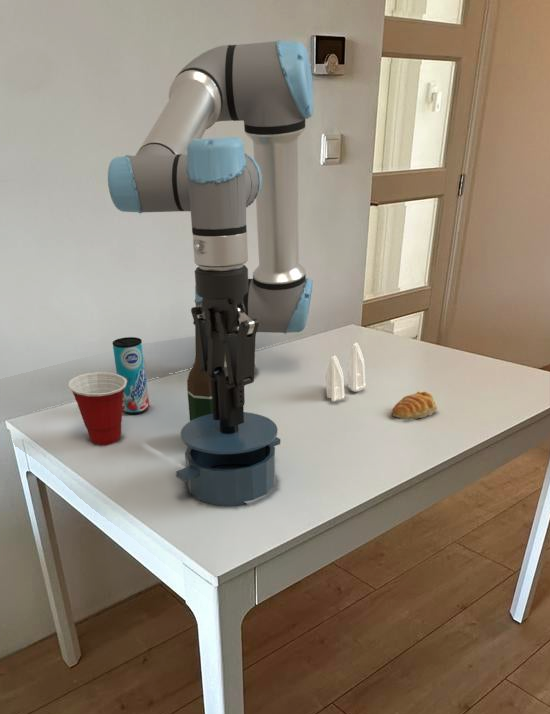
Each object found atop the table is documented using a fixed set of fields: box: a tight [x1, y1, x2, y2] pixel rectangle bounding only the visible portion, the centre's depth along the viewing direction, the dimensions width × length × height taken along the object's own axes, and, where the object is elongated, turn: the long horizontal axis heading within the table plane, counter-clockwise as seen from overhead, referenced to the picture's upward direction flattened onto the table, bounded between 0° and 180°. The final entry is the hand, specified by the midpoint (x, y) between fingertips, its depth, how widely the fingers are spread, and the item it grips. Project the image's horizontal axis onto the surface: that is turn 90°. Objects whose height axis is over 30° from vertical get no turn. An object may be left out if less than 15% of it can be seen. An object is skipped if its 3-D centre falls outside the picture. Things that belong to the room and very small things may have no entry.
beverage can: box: [112, 336, 150, 415], centre depth 132 cm, size 6×6×15 cm
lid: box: [180, 370, 278, 454], centre depth 99 cm, size 16×16×11 cm
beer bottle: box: [186, 320, 225, 422], centre depth 114 cm, size 8×8×24 cm
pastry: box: [392, 391, 438, 420], centre depth 128 cm, size 9×7×4 cm
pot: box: [175, 436, 281, 507], centre depth 105 cm, size 15×20×6 cm
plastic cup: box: [67, 371, 127, 446], centre depth 121 cm, size 11×11×12 cm
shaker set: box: [325, 342, 367, 402], centre depth 137 cm, size 12×4×11 cm, turn 129°
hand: (228, 420), depth 101 cm, fingers closed on lid, 3 cm apart
